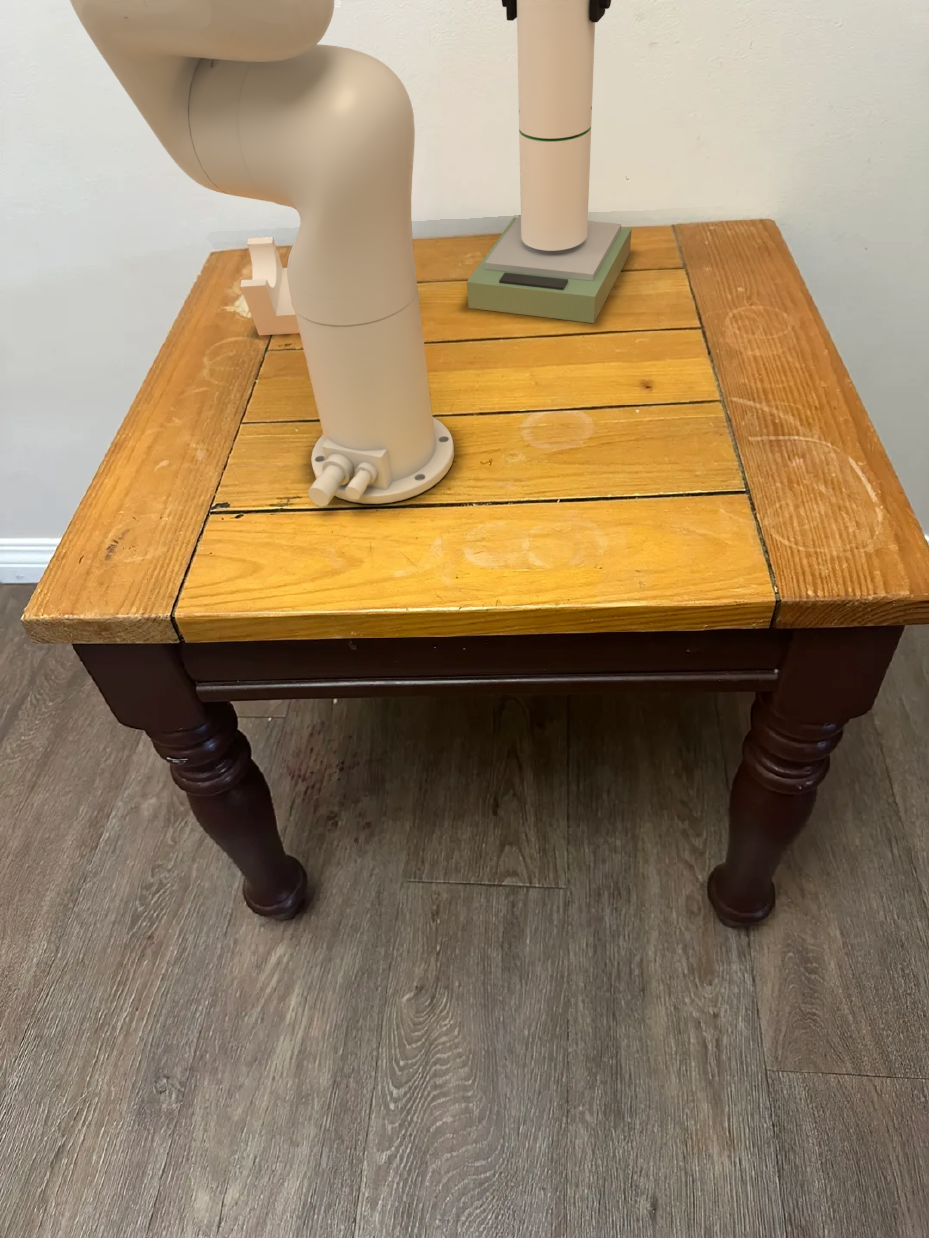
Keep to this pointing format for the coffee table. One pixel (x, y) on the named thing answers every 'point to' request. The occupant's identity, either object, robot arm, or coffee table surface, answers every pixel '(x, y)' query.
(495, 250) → the kitchen scale
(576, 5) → the cylindrical container
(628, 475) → the coffee table surface
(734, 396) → the coffee table surface
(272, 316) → the bracket
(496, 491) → the coffee table surface
